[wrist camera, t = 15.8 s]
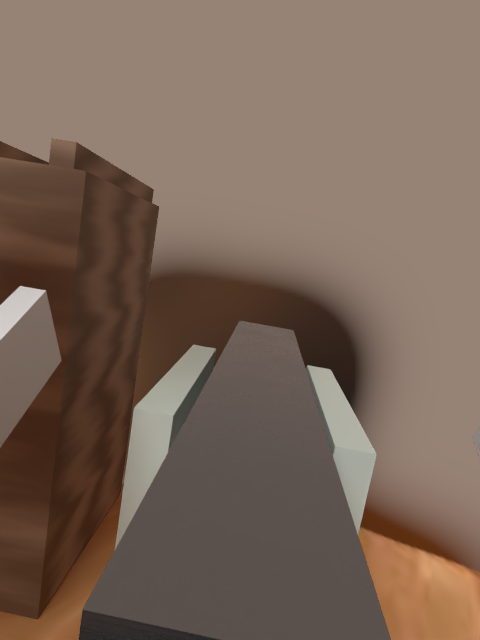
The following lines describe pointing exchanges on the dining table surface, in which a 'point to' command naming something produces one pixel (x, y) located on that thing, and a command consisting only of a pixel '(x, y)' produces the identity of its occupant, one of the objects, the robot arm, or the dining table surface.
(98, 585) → the bar
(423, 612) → the dining table surface
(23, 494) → the walnut stand
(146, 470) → the slotted cradle
